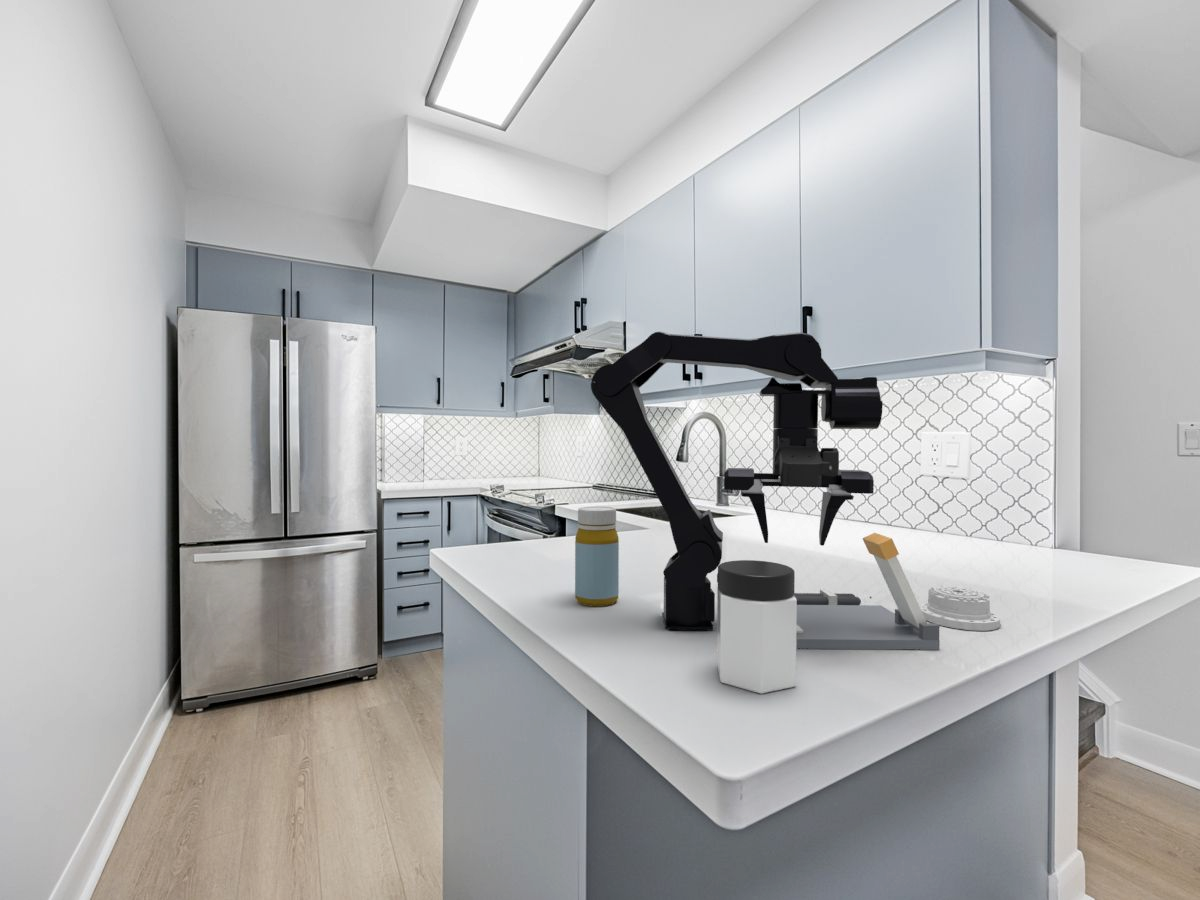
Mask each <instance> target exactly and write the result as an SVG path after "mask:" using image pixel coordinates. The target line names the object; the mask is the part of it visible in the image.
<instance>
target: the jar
mask: <svg viewBox="0 0 1200 900" xmlns="http://www.w3.org/2000/svg"><path fill="white" fill-rule="evenodd" d="M795 575H796V574H795V570H794V568H792V567H790V566H789V565H785V564H782V563H778V562H772V561H767V560H766V561H764V560H750V559H749V560H748V559H743V560H742V559H741V560H731V561H730V560H729V561H725V562H724V561H723V562H722V563H720V564H719V565H718V567H717V574H716V582H717V588H716V589H717V591H716V592H717V593H716V595H717V597H716V598H717V599H716V600H717V603H716V604H717V610H716V611H717V612H716V613H717V617H716V618H717V621H716V622H717V623H716V625H717V626H716V627H717V628H716V630H717V633H716V634H717V635H716V636H717V637H716V640H717V641H716V649H717V650H716V666H717V671H718V676H719V681H720V683H722V684H725V685H729V686H732V687H736V688H740V689H742V690H743V689H744V690H746V691H750V692H753V693H757V694H766V693H770V692H776V691H780V690H786V689H791V688H795V687H796V686H797V649H796V629H797V599H796V598H795V596H794V593H795V584H796V583H795V578H796V577H795Z"/></svg>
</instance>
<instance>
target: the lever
mask: <svg viewBox="0 0 1200 900" xmlns="http://www.w3.org/2000/svg"><path fill="white" fill-rule="evenodd" d="M861 539H862V541H863V542H864V545H865V547H866V549H867V552H868V553H869V554H870V555H872V556H873V557H874V560H875V561H876V563H877V565H878V568H879V571H880V572H881V575H882V577H883V579H884V582H885V583H886V585H887V588H888V590H889V592H890V594H891V596H892V599H893V600H894V603H895V605H896V607H897V609H898V610H899V612H900V614H901V616H902V618H903V619H904V622H905V623H906V624H908V625H910V626H911V627H913V628H915V629H916V630H918V631H919V623H928V621H927V620H926V619H925V617H924V615H923V613H922V611H921V609H920V604H919V602H918V600H917V598H916V596H915V594H914V591H913V589H912V587H911V585H910V583H909V580H908V578H907V575H906V574H905V571H904V570H903V568H902V565H901V563H900V560H899V559H898V557H897V556H899V555H900V554H899V552H898V551H899V550H898V549H897V547H896V545H895V542H894V540H893V538H891V537H889V536H885V535H882V534H880V533H876V532H873V533H871V534H869V535H867V536H864V537H862V538H861Z"/></svg>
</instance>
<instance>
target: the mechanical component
mask: <svg viewBox="0 0 1200 900" xmlns="http://www.w3.org/2000/svg"><path fill="white" fill-rule="evenodd" d="M927 595H928V596H927V597H928V599H927V602H924V603H922V604H919V606H920V609H921V611H922V613H923V615H924V617H925V619H926V622H929V623H935V624H937V625H939V626H942V627H946V628H947V627H948V628H951V629H952V628H953V629H957V630H964V631H965V630H966V631H976V632H977V631H978V632H980V631H983V632H985V631H987V632H988V631H995V630H997V629H999V628H1000V626H1001V617H1000V616H999V615H998V614H997V613H995V612H992V611H990V610H991V603H990V595H988V594H987V593H984V592H982V591H978V590H974V589H971V588H964V587H958V586H947V585H946V586H943V585H941V586H937V587H935V586H931V587H930V589H928V594H927Z"/></svg>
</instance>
